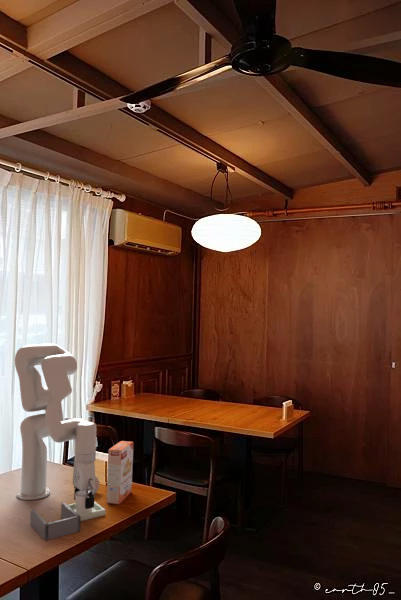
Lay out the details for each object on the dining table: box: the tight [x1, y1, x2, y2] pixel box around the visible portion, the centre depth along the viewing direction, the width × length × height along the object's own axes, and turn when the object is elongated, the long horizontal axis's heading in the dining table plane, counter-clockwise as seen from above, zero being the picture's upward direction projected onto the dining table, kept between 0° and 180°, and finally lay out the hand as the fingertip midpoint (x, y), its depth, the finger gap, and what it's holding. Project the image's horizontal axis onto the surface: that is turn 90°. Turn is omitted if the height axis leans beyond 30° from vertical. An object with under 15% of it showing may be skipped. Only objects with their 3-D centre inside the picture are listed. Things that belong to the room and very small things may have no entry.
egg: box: [87, 475, 100, 494], centre depth 199 cm, size 5×5×7 cm
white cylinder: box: [75, 490, 92, 515], centre depth 180 cm, size 7×7×7 cm
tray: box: [67, 500, 106, 522], centre depth 180 cm, size 12×12×2 cm
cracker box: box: [106, 440, 134, 505], centre depth 196 cm, size 14×6×21 cm, turn 168°
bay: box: [29, 501, 82, 541], centre depth 168 cm, size 14×12×5 cm
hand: (83, 503), depth 180 cm, fingers open, 9 cm apart
